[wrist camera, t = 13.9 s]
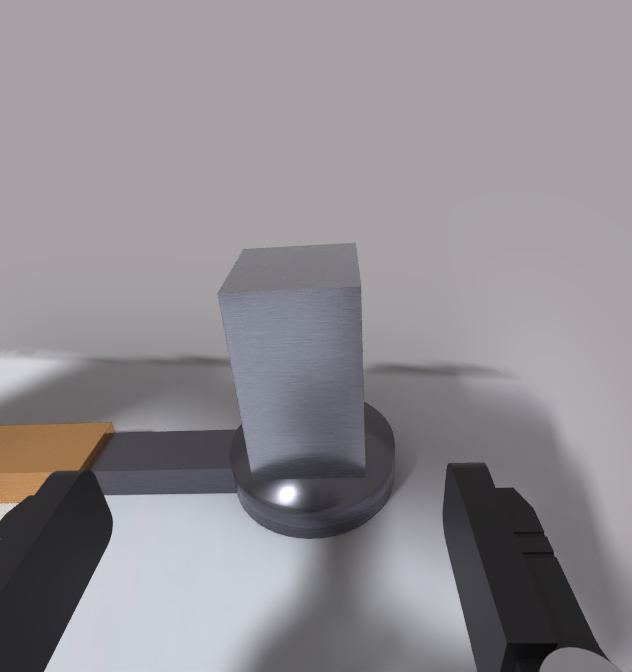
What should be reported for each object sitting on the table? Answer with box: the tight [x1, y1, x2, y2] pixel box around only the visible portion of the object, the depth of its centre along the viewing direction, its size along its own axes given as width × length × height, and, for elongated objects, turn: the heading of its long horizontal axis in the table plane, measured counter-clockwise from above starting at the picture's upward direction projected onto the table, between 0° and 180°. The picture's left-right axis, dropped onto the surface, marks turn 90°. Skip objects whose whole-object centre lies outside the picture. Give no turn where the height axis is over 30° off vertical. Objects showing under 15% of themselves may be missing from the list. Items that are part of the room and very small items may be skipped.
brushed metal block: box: [218, 243, 366, 480], centre depth 20 cm, size 5×5×9 cm
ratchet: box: [0, 402, 395, 539], centre depth 22 cm, size 25×8×6 cm, turn 87°
